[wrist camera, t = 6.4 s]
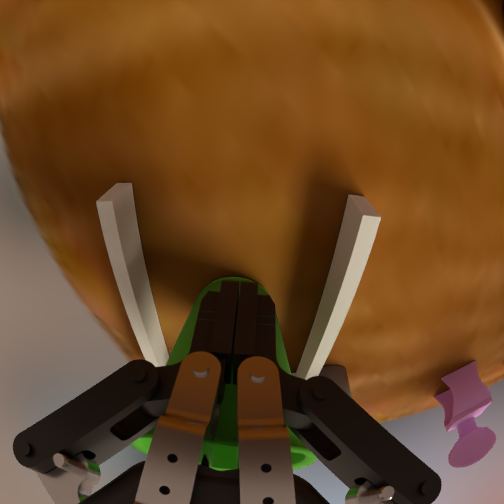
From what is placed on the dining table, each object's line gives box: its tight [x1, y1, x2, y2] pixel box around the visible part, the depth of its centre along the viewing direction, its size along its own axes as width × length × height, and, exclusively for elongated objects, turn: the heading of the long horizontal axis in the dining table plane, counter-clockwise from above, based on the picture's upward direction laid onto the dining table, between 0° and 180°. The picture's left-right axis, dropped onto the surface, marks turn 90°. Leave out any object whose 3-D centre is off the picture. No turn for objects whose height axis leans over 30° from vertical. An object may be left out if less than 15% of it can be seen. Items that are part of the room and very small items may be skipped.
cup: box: [130, 277, 317, 471], centre depth 14 cm, size 9×9×11 cm
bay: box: [96, 183, 381, 398], centre depth 17 cm, size 20×18×7 cm
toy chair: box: [434, 360, 496, 467], centre depth 23 cm, size 8×9×15 cm
